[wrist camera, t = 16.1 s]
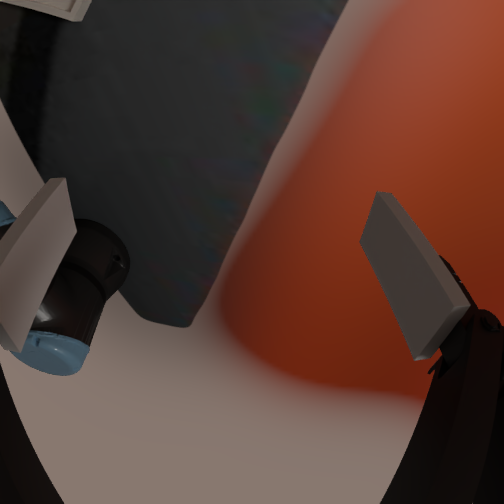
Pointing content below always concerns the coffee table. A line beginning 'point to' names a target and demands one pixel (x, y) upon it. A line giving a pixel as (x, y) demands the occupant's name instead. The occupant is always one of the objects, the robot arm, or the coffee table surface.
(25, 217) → the robot arm
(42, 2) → the tray
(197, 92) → the coffee table surface
